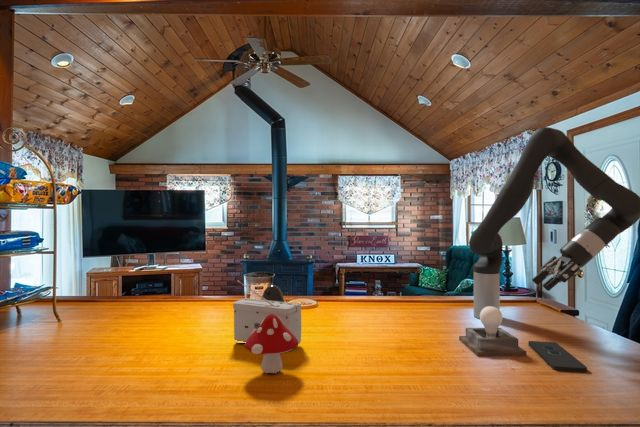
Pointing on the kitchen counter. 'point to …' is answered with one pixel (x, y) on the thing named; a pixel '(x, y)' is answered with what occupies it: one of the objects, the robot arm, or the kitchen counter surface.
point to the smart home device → (557, 357)
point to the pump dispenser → (273, 294)
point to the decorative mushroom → (271, 343)
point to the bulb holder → (491, 343)
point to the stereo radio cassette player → (256, 310)
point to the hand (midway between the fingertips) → (539, 285)
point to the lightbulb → (491, 320)
